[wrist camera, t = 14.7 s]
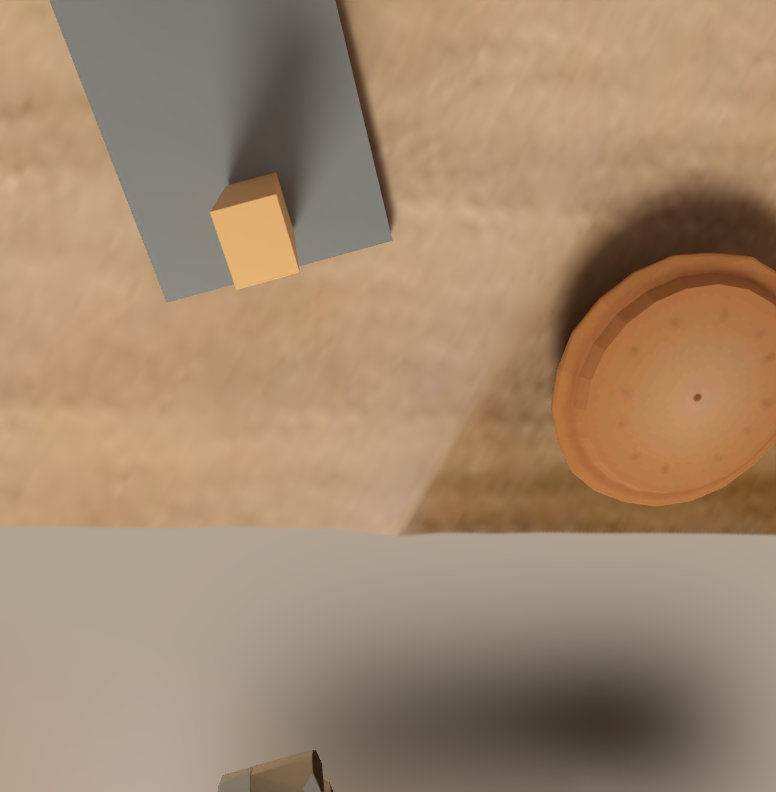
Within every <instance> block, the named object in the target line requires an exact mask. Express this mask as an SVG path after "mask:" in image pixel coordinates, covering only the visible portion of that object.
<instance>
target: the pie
mask: <svg viewBox="0 0 776 792" xmlns="http://www.w3.org/2000/svg"><path fill="white" fill-rule="evenodd" d="M551 410H552V415H553V420H554V425H555V430H556V434H557V439H558V443H559V445H560V447H561V450H562V452H563V454H564V456H565V459H566V461H567V463H568V465H569V468H570V470H571V471H572V472H573V473H574V474H575V475H576V476H578V477H579V478H580V479H581V480H582V481H584V482H585V483H586V484H587V485H588V486H590V487H591V488H592V489H593V490H594V491H597V492H600V493H602V494H605V495H607V496H610V497H613V498H615V499H618V500H621V501H623V502H628V503H635V504H643V505H651V506H662V505H669V504H675V503H681V502H688V501H693V500H695V499H697V498H699V497H702V496H704V495H706V494H709V493H711V492H713V491H715V490H718V489H720V488H722V487H725V486H726V485H727V484H729V483H730V482H731V481H733V480H734V479H735V478H737V477H738V476H739V475H741V474H742V473H743V472H745V471H746V470H747V469H749V468H750V467H751V466H753V465H754V464H755V463H756V462H757V461H758V460H759V459H760V458H761V457H762V456H763V455H764V454H765V453H766V452H767V451H768V450H769V449H770V448H771V447H772V446H773V445H774V444H775V443H776V271H774V270H773V269H771V268H770V267H768V266H767V265H765V264H763V263H762V262H760V261H759V260H757V259H756V258H754V257H752V256H745V255H735V254H724V253H714V252H713V253H697V254H681V255H672V256H669V257H667V258H665V259H662V260H660V261H658V262H655V263H653V264H651V265H649V266H646V267H644V268H642V269H639V270H637V271H635V272H633V273H631V274H630V275H629V276H627V277H626V278H625V279H624V280H622V281H621V282H620V283H618V284H617V285H616V286H615V287H613V288H612V289H611V290H609V291H608V292H607V293H606V294H604V295H603V296H602V297H600V298H599V299H598V300H597V302H596V303H595V304H594V305H593V307H592V308H591V309H590V310H589V312H588V313H587V314H586V315H585V316H584V318H583V319H582V320H581V321H580V323H579V324H578V325H577V326H576V328H575V329H574V330H573V331H572V333H571V335H570V338H569V340H568V343H567V345H566V348H565V350H564V353H563V355H562V358H561V360H560V363H559V365H558V368H557V372H556V379H555V385H554V391H553V398H552V404H551Z"/></svg>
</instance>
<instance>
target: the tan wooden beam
mask: <svg viewBox="0 0 776 792" xmlns="http://www.w3.org/2000/svg"><path fill="white" fill-rule="evenodd" d="M210 214H211V217H212V220H213V223H214V226H215V229H216V232H217V235H218V238H219V241H220V244H221V246H222V249H223V252H224V255H225V258H226V261H227V264H228V267H229V270H230V273H231V276H232V279H233V282H234V284H235V287H236V290H238V289H242V288H246V287H249V286H253V285H256V284H260V283H264V282H267V281H271V280H275V279H278V278H282V277H285V276H289V275H293V274H296V273H300V271H299V264H298V257H297V249H296V242H295V235H294V230H293V227H292V224H291V220H290V217H289V213H288V210H287V207H286V203H285V200H284V196H283V193H282V190H281V186H280V183H279V180H278V176H277V173H276V172H275V173H272V174H268V175H264V176H260V177H257V178H253V179H249V180H246V181H242V182H238V183H234V184H231V185H227V186H226V187H225V188H224V190H223V192H222V193H221V195H220V196H219V198H218V200H217V201H216V203H215V205H214V206H213V208H212V209H211V211H210Z"/></svg>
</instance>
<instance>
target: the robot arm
mask: <svg viewBox="0 0 776 792" xmlns="http://www.w3.org/2000/svg"><path fill="white" fill-rule="evenodd" d="M218 792H333V789H332V787H331V784H330V782H328V781H326V780H324V779H323V768H322V762H321V760H320V758H319V755H318V753H317V751H316V750H311V751H307V752H303V753H300V754H296V755H292V756H289V757H285V758H281V759H278V760H274V761H270V762H267V763H263V764H259V765H256V766H253V767H250V768H246V769H243V770H239V771H236V772H232V773H228V774H225V775H223V776H222V778H221V781H220V783H219V786H218Z"/></svg>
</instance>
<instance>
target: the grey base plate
mask: <svg viewBox="0 0 776 792" xmlns="http://www.w3.org/2000/svg"><path fill="white" fill-rule="evenodd" d="M50 3H51V5H52V8H53V10H54V13H55V16H56V18H57V21H58V23H59V26H60V28H61V31H62V34H63V36H64V39H65V41H66V44H67V47H68V49H69V52H70V54H71V57H72V59H73V62H74V65H75V67H76V70H77V72H78V75H79V77H80V80H81V83H82V85H83V88H84V90H85V93H86V95H87V98H88V101H89V103H90V106H91V108H92V111H93V113H94V116H95V119H96V121H97V124H98V126H99V129H100V132H101V134H102V137H103V139H104V142H105V144H106V147H107V150H108V152H109V155H110V157H111V160H112V162H113V165H114V168H115V170H116V173H117V175H118V178H119V180H120V183H121V186H122V188H123V191H124V193H125V196H126V199H127V201H128V204H129V206H130V209H131V211H132V214H133V217H134V219H135V222H136V224H137V227H138V229H139V232H140V235H141V237H142V240H143V242H144V245H145V247H146V250H147V253H148V255H149V258H150V260H151V263H152V265H153V268H154V271H155V273H156V276H157V278H158V281H159V284H160V286H161V289H162V291H163V294H164V296H165V299H166V302H171V301H174V300H178V299H182V298H185V297H189V296H193V295H196V294H200V293H203V292H207V291H211V290H214V289H218V288H222V287H225V286H229V285H233V284H234V282H233V279H232V276H231V273H230V270H229V267H228V264H227V261H226V258H225V255H224V252H223V249H222V246H221V244H220V241H219V238H218V235H217V232H216V229H215V226H214V223H213V220H212V217H211V214H210V211H211V209H212V208H213V206H214V205H215V203H216V201H217V200H218V198H219V196H220V195H221V193H222V192H223V190H224V188H225V187H226V186H227V185H231V184H234V183H238V182H242V181H246V180H249V179H253V178H257V177H260V176H264V175H268V174H272V173H275V172H276V173H277V176H278V180H279V183H280V186H281V190H282V193H283V196H284V200H285V203H286V207H287V210H288V213H289V217H290V220H291V224H292V227H293V230H294V235H295V242H296V249H297V257H298V264H299V266H302V265H305V264H309V263H313V262H316V261H320V260H323V259H327V258H331V257H334V256H338V255H342V254H345V253H349V252H353V251H356V250H360V249H363V248H367V247H371V246H374V245H378V244H382V243H385V242H389V241H392V237H391V232H390V228H389V224H388V220H387V215H386V211H385V207H384V203H383V199H382V194H381V190H380V186H379V182H378V178H377V173H376V169H375V165H374V161H373V157H372V152H371V148H370V144H369V140H368V136H367V131H366V127H365V123H364V119H363V114H362V110H361V106H360V102H359V98H358V93H357V89H356V85H355V81H354V77H353V72H352V68H351V64H350V60H349V56H348V51H347V47H346V43H345V39H344V34H343V30H342V26H341V22H340V18H339V13H338V9H337V5H336V1H335V0H50Z"/></svg>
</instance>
